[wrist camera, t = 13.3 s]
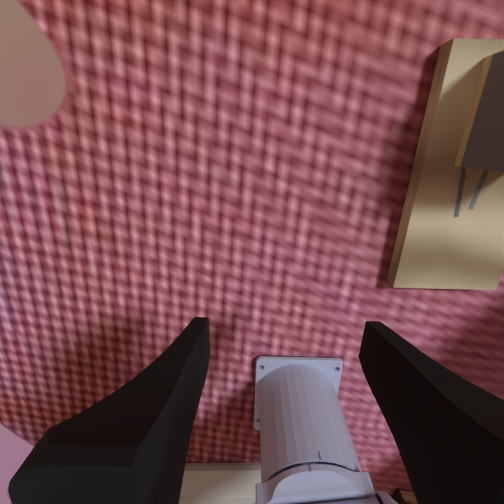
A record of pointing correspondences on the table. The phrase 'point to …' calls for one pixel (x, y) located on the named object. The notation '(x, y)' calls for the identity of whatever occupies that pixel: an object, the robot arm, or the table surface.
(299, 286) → the table surface
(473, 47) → the pine board
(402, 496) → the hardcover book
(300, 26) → the table surface
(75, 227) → the table surface
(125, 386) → the robot arm
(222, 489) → the baseboard molding
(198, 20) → the table surface
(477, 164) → the block
